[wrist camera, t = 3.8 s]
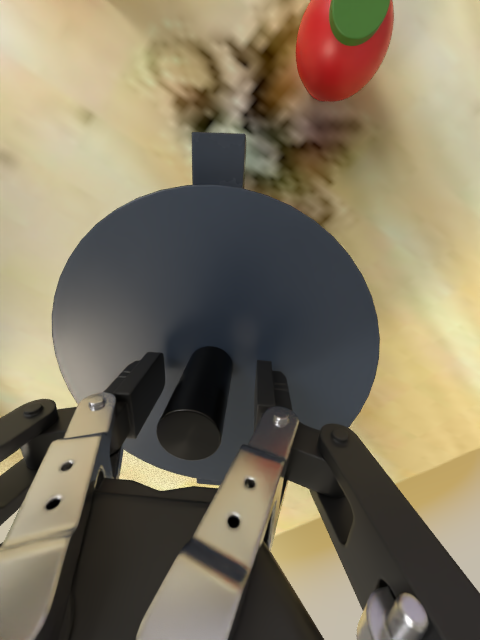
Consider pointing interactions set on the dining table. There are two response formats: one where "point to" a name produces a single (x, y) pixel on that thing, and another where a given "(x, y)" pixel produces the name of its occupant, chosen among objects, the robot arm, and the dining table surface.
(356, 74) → the strawberry
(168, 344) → the lid
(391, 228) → the dining table surface
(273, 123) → the dining table surface
